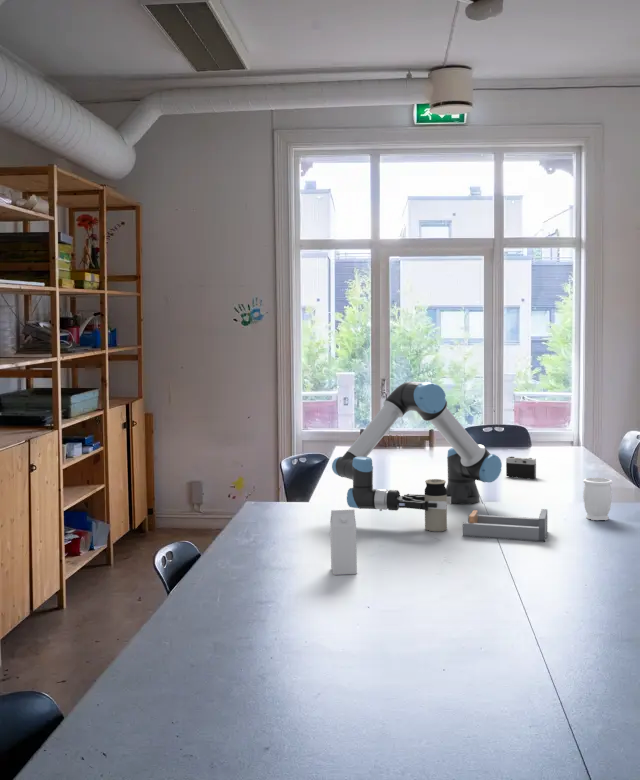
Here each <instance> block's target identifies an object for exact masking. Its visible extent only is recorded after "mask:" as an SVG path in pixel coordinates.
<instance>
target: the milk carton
mask: <svg viewBox="0 0 640 780" xmlns="http://www.w3.org/2000/svg"><path fill="white" fill-rule="evenodd" d="M355 513H356V512H355V509H336V510H335V509H333V510H332V509H331V511H330V521H329V522H330V523H329V524H330V527H329V528H330V559H331V560H330V562H331V563H330V568H331V572H332V574H333V575H334V576H337V575H339V576H341V575H356V574H358V568H357V567H358V564H357V563H358V557H357V555H358V554H357V521H356V515H355Z"/></svg>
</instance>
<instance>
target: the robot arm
mask: <svg viewBox="0 0 640 780" xmlns="http://www.w3.org/2000/svg"><path fill="white" fill-rule="evenodd" d="M409 411H411V412H413V411H415V412H416V413H417V414H418V415H419V416H420V417H421V418H422V419H423V420H424V421H425V422H430V423H431V424H432V425H433V427H434V428H435V429H436V430H437V431H438V432H439V433H440V435H441V436H442V437H443V438H444V439H445V441H446V442H447V443H448V444H449V445H450V446H451V448H449V449H448V450H447V457H446V459H447V483H446V486H445V488H446V490H447V502H444V501H429V503H428V502H427V501H425V494H414V493H413V494H411V493H406V494H403V495H401V493H400V491H399V490H397V489H389V490H388V489H383V488H382V489H379V488H378V489H377V488H374V485H373V484H374V483H373V480H374V479H373V478H374V477H373V475H374V474H373V472H374V466H373V459H372V457H369V455H370V453H371V452H372V451H373V449H374V448H375V447H376V446H377V445H378V443H379V442H380V441H381V440H382V438H383V437H384V436H385V435H386V434H387V433H388V431H389V430H390V429H391V428H392V427H393V425H394V424H395V422H396V421H398V419H400V418H403V417H404V415H405V414H407V412H409ZM502 467H503V465H502V460H501V458H500V457H499V456H498V455H496V454H494V453H490V452H489V450H487V448H486V447H485V445H483V444H478V443H477V442H476V441H475V440H474V439H473V437H472V436H471V435H470V434H469V432H468V431H467V430H466V429H465V427H464V426H463V425H462V424H461V423H460V422H459V420H458V419H457V418H456V417H455V415H453V413H452V412H451V411H450V409H448V401H447V398H446V393H445V391H444V389H443V388H442V387H441V386H440V385H439V384H437V383H433V382H430V381H413V380H410V381H406V382H403V383H401V384H400V385H398V386H397V387H395V389H394V390H393V391H392V392H391V393H390V394H389V395H387V398H385V400H384V401H383V406H382V407H381V409H380V410H379V411H378V412H377V414H376V415H375V416H374V417H373V418H372V420H371V421H370V423H369V424H368V425H367V426H366V427H365V428H364V429H363V431H362V432H361V433H360V435H359V436H358V437H357V439H356V440H355V441H354V442H353V443H352V444H351V446H350V447H349V448H348V449H347V451H346V452H345V453H344V454H343V455H342V456H338V457H336V458H334V459H333V461H332V463H331V469H332V471H333V473H334V474H335V475H337V476H339V477H341V478H345V479H348V480H352V487H350V488H348V490H347V493H346V503H347V506H348V507H349V508H353V509H359V510H360V509H363V510H379V512H382V511H383V510H386V511H387V510H388V511H398V510H399V509H414V510H423V511H425V509H426V511H428V507H429V509H446V510H447V511H448V505H452V504H456V503H470V504H475V503H478V502H480V492H479V490H478V487H477V483H476V481H479V482H482V483H493V482H495V481H496V480H497V479H498V478H499V476H500V475H501V474H502Z"/></svg>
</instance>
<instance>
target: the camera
mask: <svg viewBox="0 0 640 780" xmlns="http://www.w3.org/2000/svg"><path fill="white" fill-rule="evenodd" d="M505 461H506V462H505V464H506V465H505V468H506V471H505V472H506V476H509V477H508V478H514V477H518V478H517V479H527V478H530V479H529V480H535V479H536V478H537V459H536V458H532V457H528V458H527V457H516V456H508V457H506V459H505ZM506 476H505V477H506Z"/></svg>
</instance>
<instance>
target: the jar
mask: <svg viewBox="0 0 640 780" xmlns="http://www.w3.org/2000/svg"><path fill="white" fill-rule="evenodd" d="M582 482H583V483H584V486H583V491H582V494H583V495H582V498H583V504H584V509H585V512H586V513H587V514H586V516H585V518H586V519H587V520H589V519H591V520H590V521H594V520H605V521H608V520H610V518H609V517H610V516H609V513H610V510H611V508H612V507H611V506H612V501H613V492H612V491H613V490H612V486H611V485H612V484H613V480H612V479H608V478H605V477H588V478H587V477H586V478H584V479H583V481H582Z"/></svg>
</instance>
